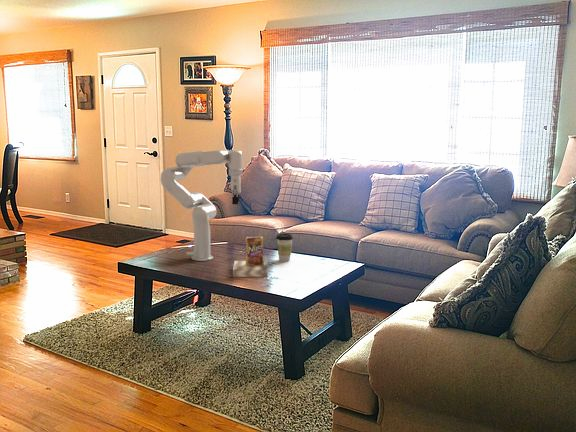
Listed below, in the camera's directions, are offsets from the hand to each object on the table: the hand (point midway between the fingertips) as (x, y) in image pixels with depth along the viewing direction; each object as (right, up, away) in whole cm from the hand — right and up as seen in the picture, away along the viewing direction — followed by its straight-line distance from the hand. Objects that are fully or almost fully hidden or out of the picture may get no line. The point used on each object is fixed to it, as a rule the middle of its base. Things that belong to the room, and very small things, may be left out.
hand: (235, 202), depth 323 cm
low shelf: (+9, -38, -16) cm, 42 cm away
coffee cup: (+27, -34, +11) cm, 45 cm away
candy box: (+11, -34, -16) cm, 39 cm away
